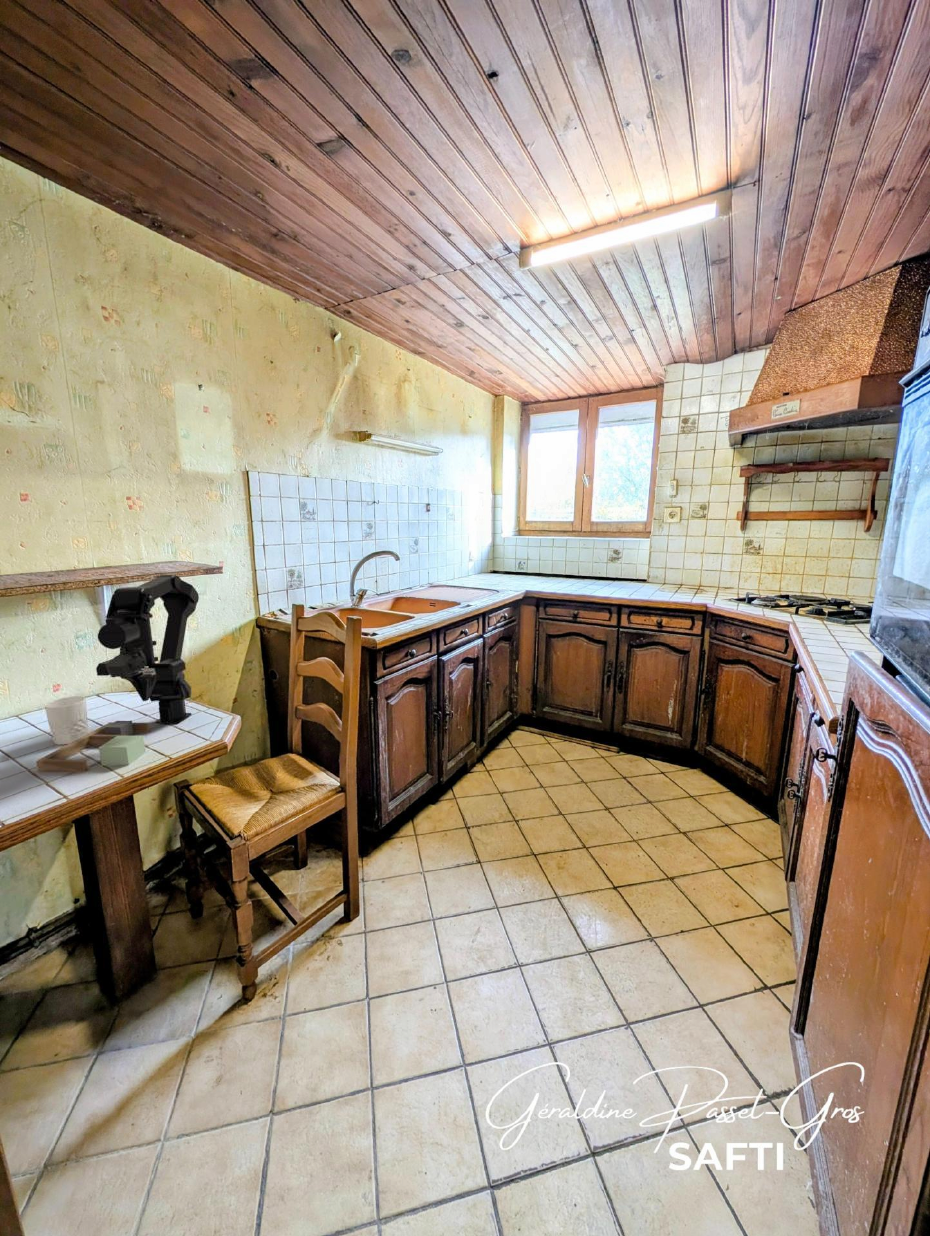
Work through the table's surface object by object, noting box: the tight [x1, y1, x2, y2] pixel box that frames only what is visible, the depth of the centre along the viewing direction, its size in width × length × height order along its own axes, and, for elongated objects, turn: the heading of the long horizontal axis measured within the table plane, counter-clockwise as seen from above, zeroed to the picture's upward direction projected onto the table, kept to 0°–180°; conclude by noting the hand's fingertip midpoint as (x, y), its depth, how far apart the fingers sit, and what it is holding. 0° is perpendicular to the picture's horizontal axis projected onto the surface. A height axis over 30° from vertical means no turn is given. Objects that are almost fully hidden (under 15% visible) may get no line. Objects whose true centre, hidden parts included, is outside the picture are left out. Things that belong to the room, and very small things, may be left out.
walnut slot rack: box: [35, 721, 151, 773], centre depth 114 cm, size 21×10×2 cm, turn 179°
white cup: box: [44, 695, 89, 746], centre depth 119 cm, size 8×8×10 cm
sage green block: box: [98, 735, 146, 766], centre depth 109 cm, size 6×6×4 cm
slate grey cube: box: [105, 720, 135, 736], centre depth 120 cm, size 4×4×4 cm
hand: (145, 700), depth 118 cm, fingers closed
